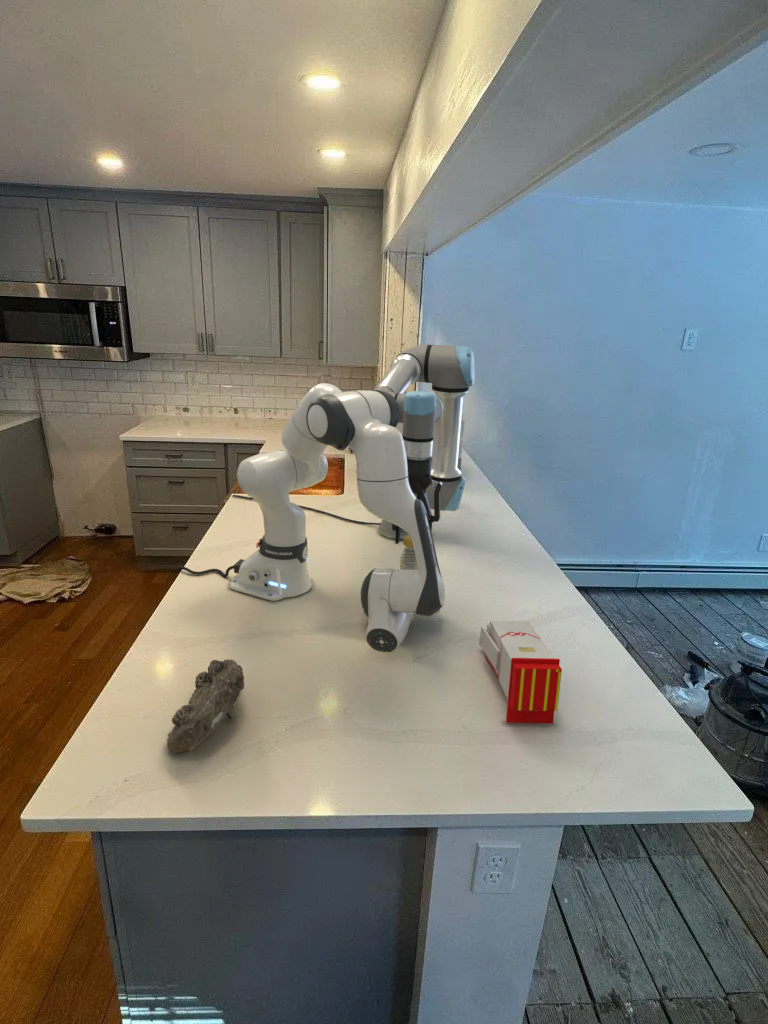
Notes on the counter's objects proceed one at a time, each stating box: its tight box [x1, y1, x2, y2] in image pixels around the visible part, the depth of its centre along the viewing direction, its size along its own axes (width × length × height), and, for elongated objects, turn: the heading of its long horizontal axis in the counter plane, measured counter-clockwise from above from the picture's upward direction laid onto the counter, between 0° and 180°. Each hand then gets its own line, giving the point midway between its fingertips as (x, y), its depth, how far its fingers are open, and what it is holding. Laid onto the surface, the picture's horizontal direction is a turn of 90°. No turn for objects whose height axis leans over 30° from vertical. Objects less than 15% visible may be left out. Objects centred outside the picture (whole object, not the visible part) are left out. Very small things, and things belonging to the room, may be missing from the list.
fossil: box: [166, 658, 245, 754], centre depth 106 cm, size 22×10×15 cm
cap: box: [402, 535, 414, 547], centre depth 146 cm, size 4×4×2 cm
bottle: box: [398, 546, 419, 570], centre depth 149 cm, size 5×5×19 cm
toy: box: [478, 620, 563, 725], centre depth 121 cm, size 12×13×30 cm
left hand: (408, 582), depth 151 cm, fingers closed on bottle, 5 cm apart
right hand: (410, 543), depth 146 cm, fingers open, 6 cm apart
